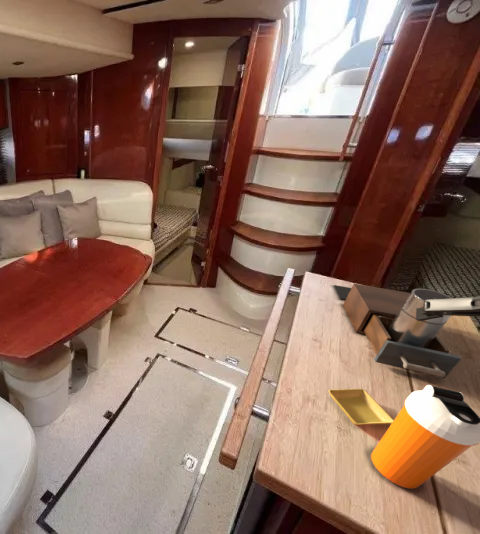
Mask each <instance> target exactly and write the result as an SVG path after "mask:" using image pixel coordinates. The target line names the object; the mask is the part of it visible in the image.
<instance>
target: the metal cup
mask: <svg viewBox="0 0 480 534" xmlns="http://www.w3.org/2000/svg"><path fill="white" fill-rule="evenodd" d="M409 293H410V295H409V297H408V298H407V300H406V301H405V303H404V304H403V306H402V308H401V309H400V311H399V312H398V314H397V315H396V317H395V319H394V320H393V322H392V323H391V325H390V326H389V328H388V330H387V332H388V334H389V336H390V337H391V340H390V341H393V342H398V343H402V344H407V345H412V346H416V347H421V348H427V347H428V346H429V344H430V343H431V342H432V340H433V339H434V338H435V336H436V335H437V336H438V334H439V333H440V331H441V330H442V329H443V327H444V326H445V325H446V323H447V322H448V321H449V319H450V318H451V316H449V315H443V317H440V318H434V319H429V320H423V321H418V320H416V309H417V308H421V307H424V300H427V299H428V300H430V299H449V298H452V297H451V296H450V295H446V294H444V293H442V292H439V291H437V290H432V289H427V288H414V289H412V290H411V292H409Z"/></svg>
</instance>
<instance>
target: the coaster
mask: <svg viewBox="0 0 480 534" xmlns="http://www.w3.org/2000/svg"><path fill="white" fill-rule="evenodd" d="M333 288H334V290H335V293H336V295H337V297H338V299H339V300H342V301H345V300H346V298H347V296H348V294H349V292H350V290H351V288H352V287H347V286H342V285H335V284H334V285H333Z"/></svg>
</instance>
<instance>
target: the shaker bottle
mask: <svg viewBox="0 0 480 534" xmlns="http://www.w3.org/2000/svg"><path fill="white" fill-rule="evenodd" d="M465 398H466V397H465V395H464V394H463V393H462V392H460V391H457V390H453V389H449V388H446V387H445V388H444V387H440V386H436V385H431V384H427V385H426V386H425V387H424V388H423V389H422V390H413V391H412V392H411V393H410V394H409V395H408V396H407V398H406V399H404V402H403V406H402V408H401V409H400V411H399V412H398V414H397V415H396V416H395V418H394V419H393V420H394V421H393V422H392V424H389V425H390V426H389V427H388V429H387V430H386V431H385V433H384V434H383V435H382V437H381V439H380V440H379V441H378V443H377V444H376V446H375V447H374V449H373V450H372V452H371V454H370V459H371V462H372V464H373V465H374V467H375V469H376V470H377V471H378V472H379V473H380V474H381V475H382V476H383V477H385V478H386V479H387V480H389V481H390V482H392V484H395V485H398V486H399V487H401V488H405V489H417V488H419V487H420V486H421V485H422V484H424V483H425V482H427V481H428V480H429V479H431V478H432V477H433V476H435V475H436V474H437V473H438V472H440V471H441V470H443V469H444V468H445V467H446V466H447V465H449V464H450V463H452V462H453V461H454V460H455V459H457V458H458V457H460V456H461V455H462V454H463V453H465V452H466V451H467V450H468V449H470V448H472V447H474V446H477V445H480V415H479V414H478V413H477V412H476V411H475V410H473V408H472V407H471V406H470V405H469V404H468V403H467V402H466V399H465Z"/></svg>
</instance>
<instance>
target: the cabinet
mask: <svg viewBox="0 0 480 534" xmlns="http://www.w3.org/2000/svg"><path fill="white" fill-rule="evenodd" d="M350 288H351V290H350V292H349V294H348V296H347V298H346V300H344V302H343V304H342V307H343V309H344V311H345V313H346V315H347V317H348V319H349V322H350V324H351V325H352V328H353V329H354V332H355V333H356V334H361V335H365V336H366V334H365V332H364V328H365V326H366V325H367V323H368V321H369V319H370V318H371V316H372V314H373V313H374V314H379V315H384V316H389V317H394V318H395V317H396V315H397V314H398V312H399V311H400V309H401V308H402V306H403V304H404V303H405V301H406V300H407V298H408V297H409V295H410V293H411V292H407V291H402V290H395V289H390V288H382V287H377V286H370V285H365V284H360V283H359V284H358V283H353V284H352V286H351V287H350Z"/></svg>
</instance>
